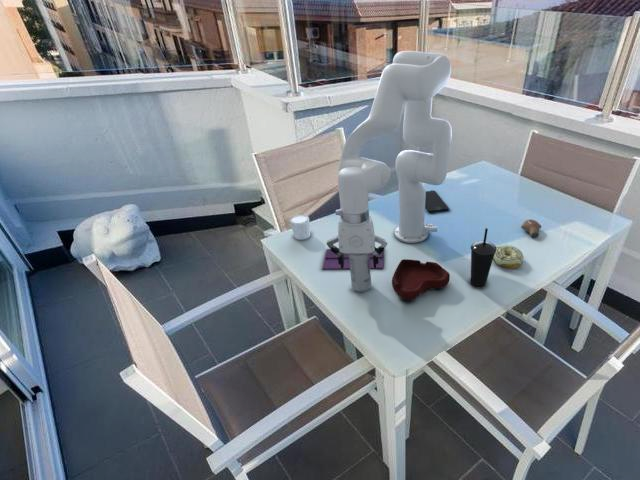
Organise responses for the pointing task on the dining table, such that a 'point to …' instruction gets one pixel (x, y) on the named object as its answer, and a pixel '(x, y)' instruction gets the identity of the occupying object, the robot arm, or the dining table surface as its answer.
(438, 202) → the cell phone
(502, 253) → the decorated donut
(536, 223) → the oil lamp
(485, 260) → the drinking cup
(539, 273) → the dining table surface
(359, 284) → the energy drink can
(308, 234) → the shot glass
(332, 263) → the napkin
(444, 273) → the ashtray
